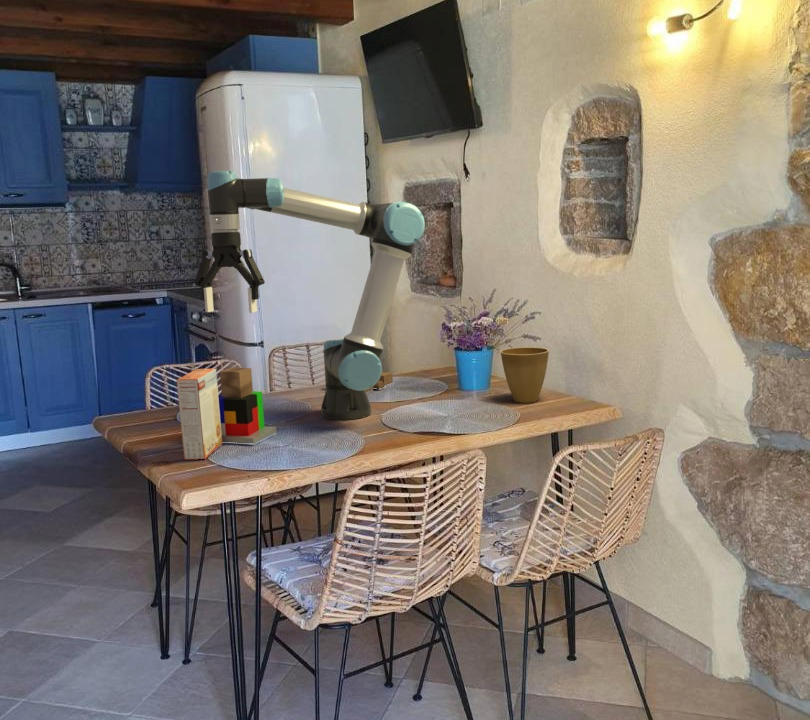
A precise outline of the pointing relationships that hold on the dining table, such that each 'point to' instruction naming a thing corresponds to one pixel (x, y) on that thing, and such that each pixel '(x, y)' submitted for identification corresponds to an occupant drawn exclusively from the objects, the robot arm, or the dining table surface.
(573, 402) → the dining table surface
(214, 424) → the cracker box
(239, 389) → the walnut block
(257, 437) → the slate tile
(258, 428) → the puzzle toy
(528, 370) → the plant pot
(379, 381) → the wooden block set
